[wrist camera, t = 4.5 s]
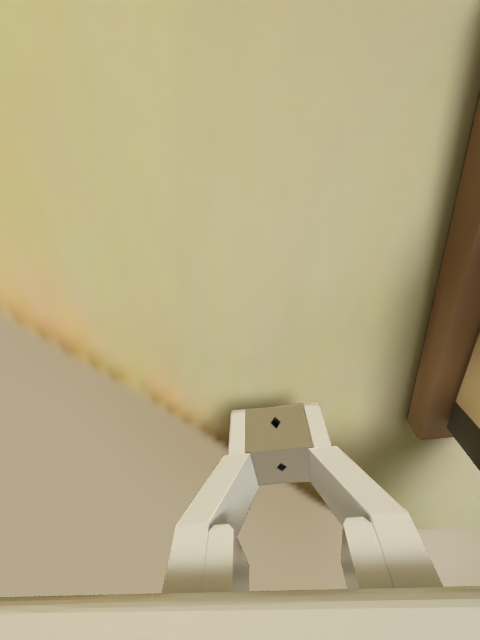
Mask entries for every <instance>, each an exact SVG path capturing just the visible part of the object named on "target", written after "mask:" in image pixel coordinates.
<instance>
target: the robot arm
mask: <svg viewBox="0 0 480 640" xmlns="http://www.w3.org/2000/svg"><path fill="white" fill-rule="evenodd" d="M294 482H311V484H312V485H313V487H314V488H315V489H316V491H317V492H318V493H319V495H320V496H321V497H322V499H323V500H324V501H325V503H326V504H327V505H328V507H329V508H330V509H331V511H332V512H333V513H334V515H335V516H336V517H337V519H338V520H339V521H340V523H341V524H342V525H343V534H342V553H341V564H342V568H343V572H344V577H345V581H346V586H347V589H332V590H330V589H329V590H287V591H249V564H248V562H247V559H246V557H245V555H244V552H243V550H242V548H241V545H240V543H239V541H238V538H237V535H238V533H239V531H240V528H241V526H242V524H243V522H244V520H245V518H246V515H247V513H248V511H249V509H250V506H251V504H252V502H253V500H254V498H255V495H256V493H257V491H258V489H259V485H268V484H278V483H294ZM0 640H480V586H456V587H443V585H442V583H441V581H440V579H439V577H438V575H437V572H436V570H435V568H434V566H433V564H432V562H431V559H430V557H429V555H428V553H427V551H426V549H425V547H424V545H423V542H422V540H421V538H420V536H419V534H418V532H417V529H416V527H415V525H414V523H413V521H412V519H411V517H410V514H409V513H408V512H407V511H406V510H405V509H404V508H403V507H402V506H401V505H400V504H399V503H398V502H396V501H395V500H394V499H393V498H392V497H391V496H390V495H389V494H388V493H387V492H386V491H385V490H384V489H383V488H382V487H380V486H379V485H378V484H377V483H376V482H375V481H374V480H373V479H372V478H371V477H370V476H369V475H368V474H367V473H365V472H364V471H363V470H362V469H361V468H360V467H359V466H358V465H357V464H356V463H355V462H354V461H353V460H352V459H350V458H349V457H348V456H347V455H346V454H345V453H344V452H343V451H342V450H341V449H340V448H339V447H338V446H332V444H331V441H330V438H329V435H328V431H327V428H326V425H325V422H324V418H323V415H322V412H321V409H320V405H319V403H318V402H308V403H303V404H302V403H297V404H288V405H280V406H274V407H263V408H250V409H240V410H232V412H231V417H230V432H229V446H228V455H223V457H222V458H221V460H220V461H219V463H218V464H217V466H216V467H215V468H214V470H213V471H212V473H211V474H210V476H209V477H208V479H207V480H206V481H205V483H204V484H203V486H202V487H201V489H200V490H199V492H198V493H197V495H196V496H195V497H194V499H193V501H192V502H191V503H190V505H189V506H188V508H187V509H186V511H185V512H184V514H183V515H182V517H181V518H180V520H179V521H178V522H177V524H176V526H175V530H174V535H173V540H172V545H171V550H170V555H169V560H168V565H167V570H166V574H165V579H164V584H163V589H162V593H160V594H118V595H76V596H34V597H0Z"/></svg>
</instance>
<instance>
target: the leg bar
mask: <svg viewBox="0 0 480 640" xmlns="http://www.w3.org/2000/svg"><path fill="white" fill-rule="evenodd" d="M447 429H448V430H449V431H450V433H451V434H452V435H453V436H454V438H455V439H456V440H457V442H458V443H459V444H460V446H461V447H462V448H463V450H464V451H465V452H466V453H467V455H468V456H469V457H470V459H471V460H472V461H473V463H474V464H475V465H476V466H477V468H478V469H479V470H480V333H479V336H478V338H477V341H476V344H475V347H474V350H473V353H472V356H471V359H470V361H469V364H468V367H467V370H466V373H465V376H464V379H463V381H462V384H461V387H460V390H459V393H458V396H457V399H456V402H455V404H454V407H453V410H452V413H451V416H450V419H449V422H448V425H447Z"/></svg>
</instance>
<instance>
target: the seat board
mask: <svg viewBox="0 0 480 640" xmlns="http://www.w3.org/2000/svg"><path fill="white" fill-rule="evenodd" d="M479 333H480V95H479V99H478V104H477V108H476V113H475V117H474V122H473V126H472V131H471V135H470V140H469V144H468V149H467V153H466V158H465V162H464V167H463V171H462V176H461V180H460V184H459V189H458V193H457V198H456V202H455V207H454V211H453V216H452V220H451V225H450V229H449V234H448V238H447V243H446V247H445V252H444V256H443V261H442V265H441V270H440V274H439V279H438V283H437V288H436V292H435V297H434V301H433V305H432V310H431V314H430V319H429V323H428V328H427V332H426V337H425V341H424V346H423V350H422V355H421V359H420V364H419V368H418V373H417V377H416V382H415V386H414V391H413V395H412V400H411V404H410V409H409V413H408V418H407V421H408V423H409V424H410V426H411V427H412V429H413V431H414V432H415V434H416V435H417V437H418V438H419V440H424V439H436V438H447V437H454V436H453V435H452V434H451V433H450V431H449V430H448V429H447V425H448V422H449V419H450V416H451V413H452V410H453V407H454V404H455V402H456V399H457V396H458V393H459V390H460V387H461V384H462V381H463V379H464V376H465V373H466V370H467V367H468V364H469V361H470V359H471V356H472V353H473V350H474V347H475V344H476V341H477V338H478V336H479Z"/></svg>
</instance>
